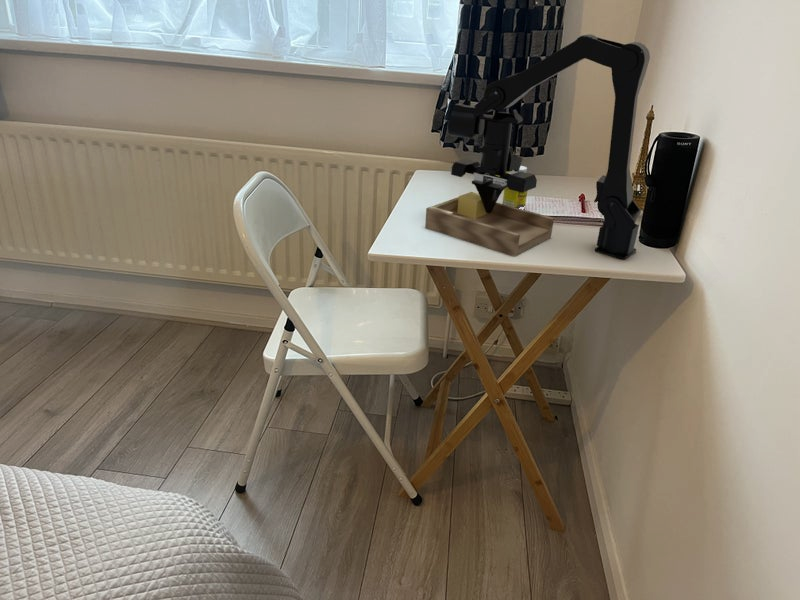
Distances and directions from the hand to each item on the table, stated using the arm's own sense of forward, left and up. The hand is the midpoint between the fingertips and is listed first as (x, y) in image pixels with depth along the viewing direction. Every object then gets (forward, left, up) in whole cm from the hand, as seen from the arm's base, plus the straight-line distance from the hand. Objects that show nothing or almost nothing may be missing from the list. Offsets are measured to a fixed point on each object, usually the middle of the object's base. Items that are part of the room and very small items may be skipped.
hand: (488, 212), depth 135 cm
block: (+4, 0, -1) cm, 4 cm away
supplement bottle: (+3, -16, -3) cm, 16 cm away
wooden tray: (-2, +3, -3) cm, 5 cm away
